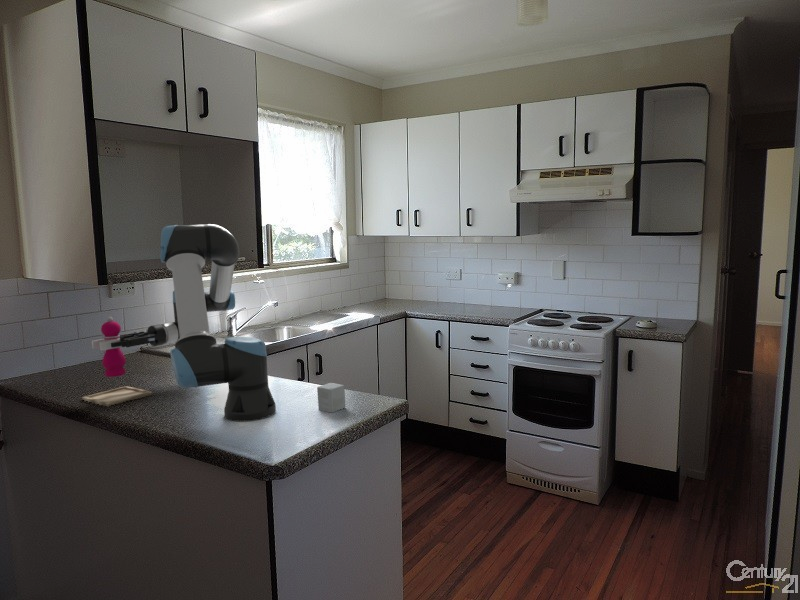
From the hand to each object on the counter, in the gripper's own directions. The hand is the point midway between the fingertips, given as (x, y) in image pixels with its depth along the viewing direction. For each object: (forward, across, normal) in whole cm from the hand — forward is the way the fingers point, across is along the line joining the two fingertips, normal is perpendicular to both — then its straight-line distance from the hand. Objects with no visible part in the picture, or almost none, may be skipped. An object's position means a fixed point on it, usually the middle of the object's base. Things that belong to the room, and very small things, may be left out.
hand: (96, 345), depth 197 cm
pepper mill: (-5, 0, -11) cm, 12 cm away
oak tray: (-5, 0, -19) cm, 20 cm away
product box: (-36, -73, -19) cm, 84 cm away
